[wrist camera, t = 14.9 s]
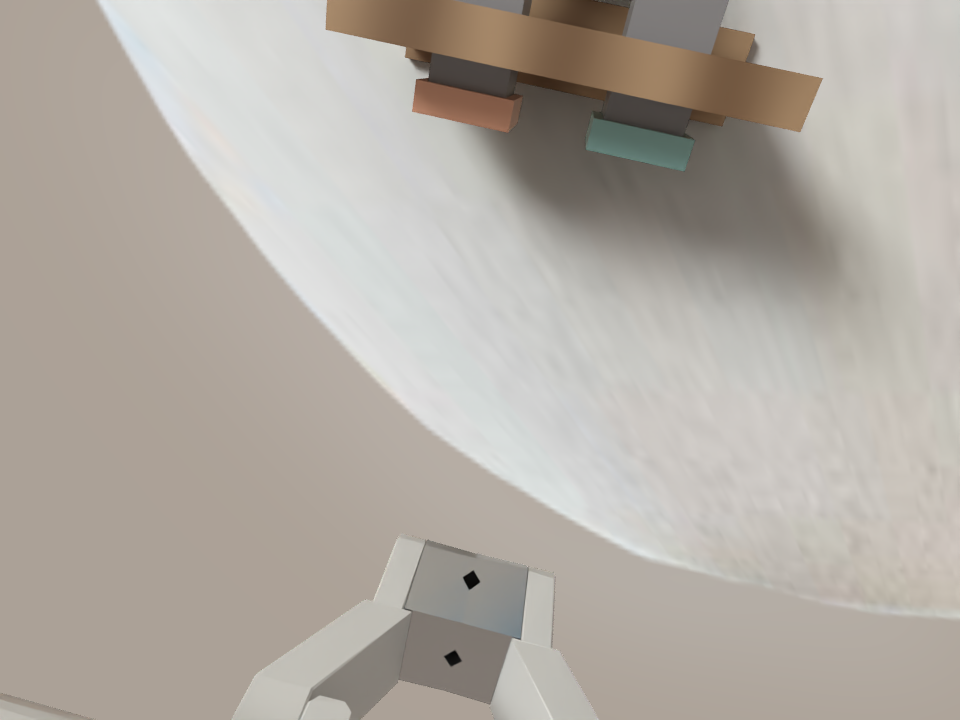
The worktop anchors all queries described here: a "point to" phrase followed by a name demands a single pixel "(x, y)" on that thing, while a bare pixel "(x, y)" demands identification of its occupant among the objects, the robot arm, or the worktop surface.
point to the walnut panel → (587, 55)
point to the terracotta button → (472, 85)
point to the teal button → (647, 123)
